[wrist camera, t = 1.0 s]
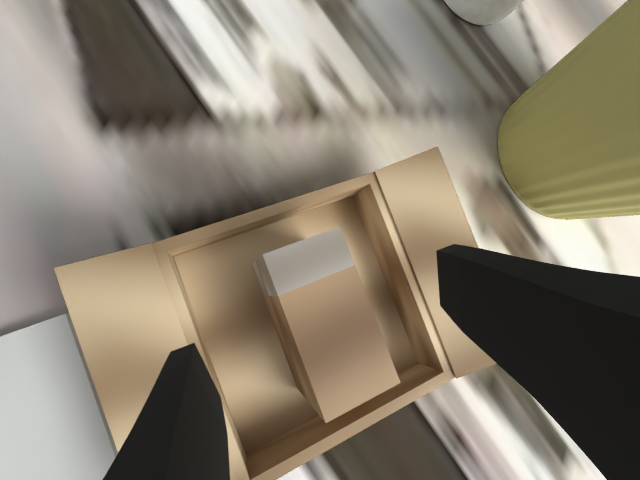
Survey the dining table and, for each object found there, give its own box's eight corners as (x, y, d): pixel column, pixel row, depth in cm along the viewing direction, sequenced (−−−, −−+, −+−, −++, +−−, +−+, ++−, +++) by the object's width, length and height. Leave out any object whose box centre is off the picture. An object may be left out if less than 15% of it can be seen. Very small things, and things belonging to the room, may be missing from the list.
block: (355, 360, 23) (400, 382, 17) (297, 389, 22) (326, 423, 16) (310, 243, 23) (340, 226, 17) (251, 264, 22) (262, 254, 16)
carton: (466, 342, 26) (523, 353, 21) (171, 502, 19) (155, 570, 15) (399, 173, 26) (439, 146, 21) (90, 275, 20) (49, 269, 15)
